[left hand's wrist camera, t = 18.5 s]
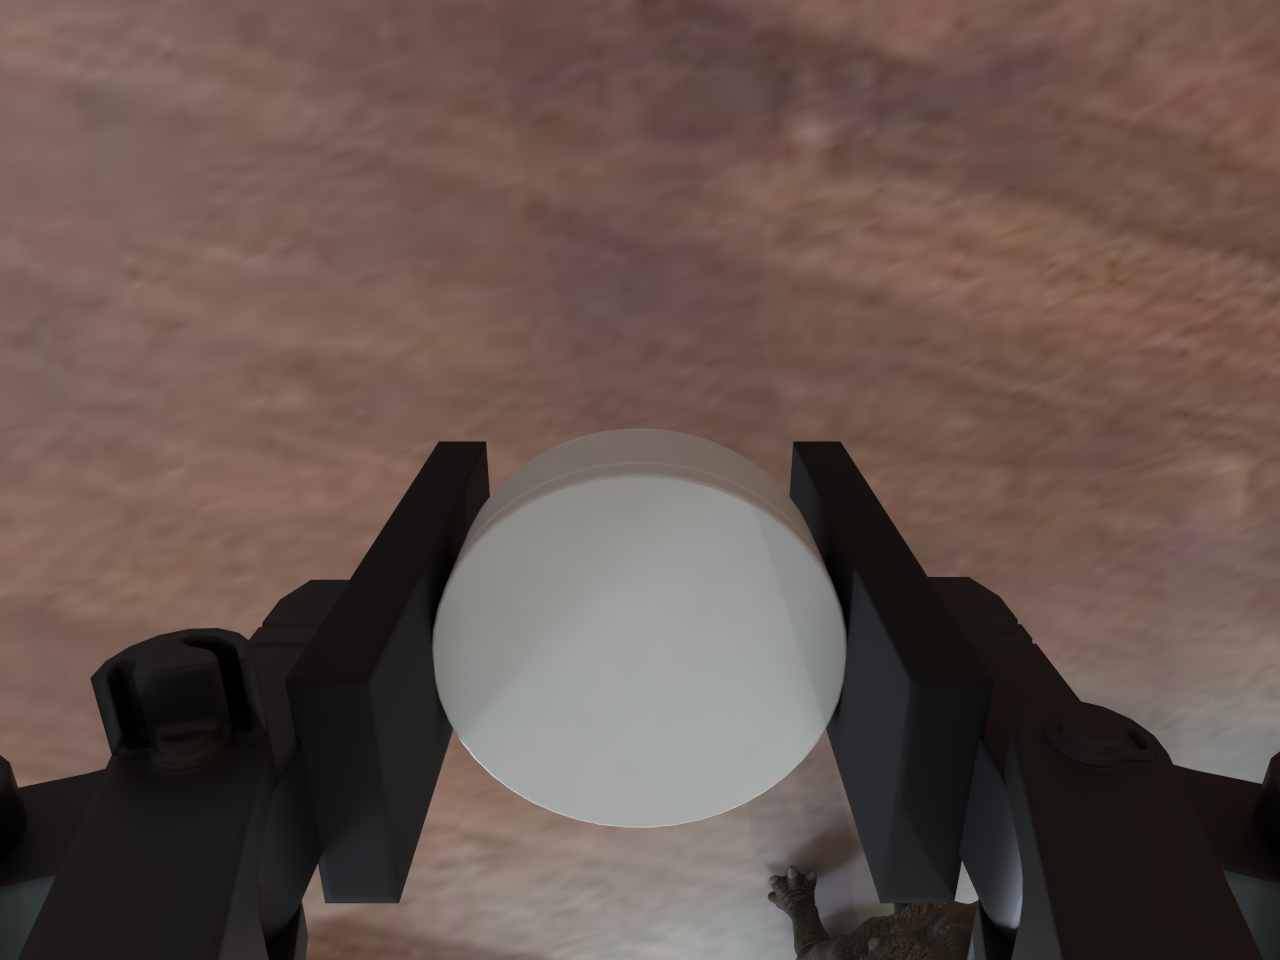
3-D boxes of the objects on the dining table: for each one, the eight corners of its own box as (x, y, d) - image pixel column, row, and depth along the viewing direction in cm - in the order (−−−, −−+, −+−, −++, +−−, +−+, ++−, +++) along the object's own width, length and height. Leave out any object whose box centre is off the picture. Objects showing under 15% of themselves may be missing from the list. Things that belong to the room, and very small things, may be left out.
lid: (858, 694, 12) (889, 772, 11) (535, 782, 13) (521, 867, 12) (767, 375, 11) (788, 415, 9) (397, 493, 11) (359, 549, 10)
